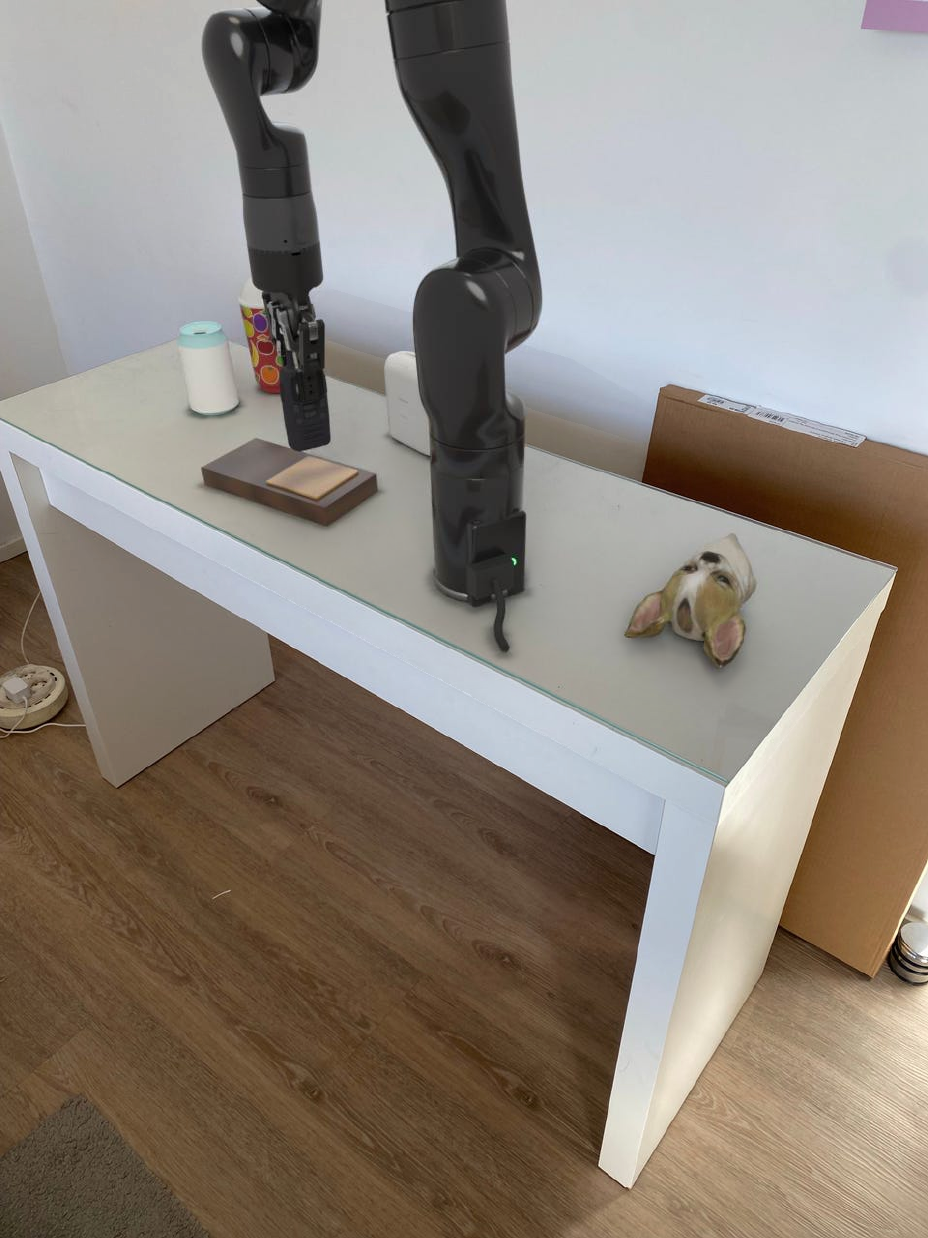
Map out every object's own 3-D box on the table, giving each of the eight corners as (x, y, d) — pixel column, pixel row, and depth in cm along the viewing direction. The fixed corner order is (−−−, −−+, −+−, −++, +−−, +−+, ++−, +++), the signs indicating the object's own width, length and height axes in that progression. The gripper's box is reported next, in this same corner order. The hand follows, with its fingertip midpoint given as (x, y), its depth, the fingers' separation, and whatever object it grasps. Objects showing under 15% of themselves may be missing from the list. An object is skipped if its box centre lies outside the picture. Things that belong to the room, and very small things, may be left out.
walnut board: (377, 491, 113) (376, 471, 112) (327, 526, 107) (324, 505, 105) (258, 454, 122) (255, 435, 120) (204, 485, 115) (200, 465, 114)
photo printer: (384, 435, 126) (377, 348, 119) (409, 427, 129) (404, 340, 121) (429, 461, 120) (425, 370, 113) (454, 451, 122) (452, 362, 115)
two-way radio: (293, 456, 106) (276, 328, 97) (279, 442, 109) (261, 316, 100) (337, 445, 108) (324, 318, 99) (322, 431, 111) (308, 307, 102)
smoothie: (289, 372, 146) (271, 241, 134) (316, 387, 141) (301, 252, 129) (242, 385, 142) (220, 251, 130) (269, 401, 136) (249, 263, 125)
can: (248, 406, 135) (235, 326, 128) (208, 421, 131) (192, 339, 124) (221, 394, 139) (207, 315, 132) (181, 408, 135) (164, 328, 128)
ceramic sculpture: (790, 532, 87) (736, 619, 77) (775, 603, 92) (723, 693, 83) (684, 505, 92) (621, 584, 82) (676, 574, 97) (616, 656, 88)
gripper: (227, 227, 98) (251, 379, 108) (270, 259, 88) (292, 423, 98) (293, 219, 101) (311, 368, 111) (342, 248, 91) (356, 409, 101)
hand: (302, 393), depth 105 cm, fingers closed on two-way radio, 4 cm apart
